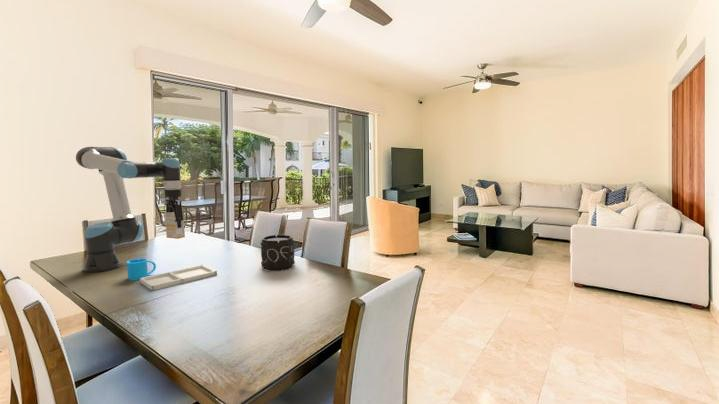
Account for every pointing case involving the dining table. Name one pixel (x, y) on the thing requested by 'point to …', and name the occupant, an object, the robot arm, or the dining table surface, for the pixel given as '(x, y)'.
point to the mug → (138, 268)
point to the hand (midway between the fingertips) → (175, 232)
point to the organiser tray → (177, 277)
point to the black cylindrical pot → (277, 252)
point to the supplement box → (173, 226)
